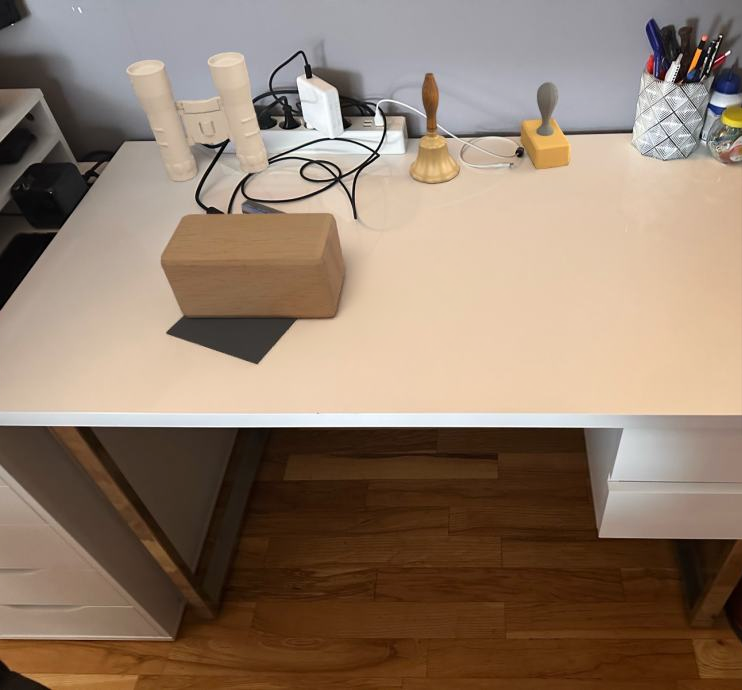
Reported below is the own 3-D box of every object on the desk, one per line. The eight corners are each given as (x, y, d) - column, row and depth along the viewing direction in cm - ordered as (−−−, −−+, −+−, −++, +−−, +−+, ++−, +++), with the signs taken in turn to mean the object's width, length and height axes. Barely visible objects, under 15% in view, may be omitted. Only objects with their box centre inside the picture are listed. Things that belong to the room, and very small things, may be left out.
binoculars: (271, 156, 116) (245, 50, 103) (270, 172, 112) (243, 64, 100) (169, 167, 114) (129, 61, 102) (165, 184, 110) (123, 76, 98)
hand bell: (409, 159, 114) (400, 65, 103) (458, 156, 114) (454, 62, 103) (409, 185, 108) (400, 88, 97) (460, 182, 108) (457, 85, 97)
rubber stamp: (520, 140, 117) (522, 72, 109) (552, 136, 118) (557, 68, 110) (535, 169, 111) (539, 99, 102) (569, 164, 111) (576, 94, 103)
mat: (257, 364, 81) (256, 362, 81) (166, 333, 85) (165, 332, 85) (311, 302, 89) (310, 301, 88) (225, 277, 93) (224, 276, 93)
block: (181, 320, 86) (336, 320, 86) (154, 259, 79) (322, 258, 79) (204, 271, 93) (347, 271, 93) (181, 211, 86) (335, 209, 86)
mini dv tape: (250, 239, 99) (240, 204, 95) (257, 233, 100) (247, 199, 96) (293, 255, 96) (284, 220, 92) (300, 249, 97) (291, 214, 93)
